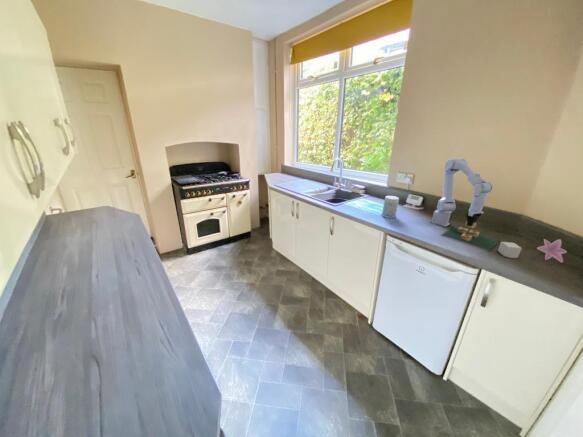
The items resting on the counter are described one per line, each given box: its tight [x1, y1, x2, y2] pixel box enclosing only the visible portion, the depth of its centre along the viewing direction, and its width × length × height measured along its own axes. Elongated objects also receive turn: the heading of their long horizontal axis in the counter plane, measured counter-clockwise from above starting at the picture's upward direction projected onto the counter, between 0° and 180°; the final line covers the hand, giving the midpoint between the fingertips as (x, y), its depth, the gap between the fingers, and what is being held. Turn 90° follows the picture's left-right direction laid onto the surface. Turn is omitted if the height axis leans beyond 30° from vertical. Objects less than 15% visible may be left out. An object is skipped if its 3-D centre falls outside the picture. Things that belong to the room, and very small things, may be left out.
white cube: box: [497, 241, 523, 259], centre depth 124 cm, size 6×6×6 cm
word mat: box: [442, 227, 499, 251], centre depth 143 cm, size 24×20×1 cm
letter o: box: [460, 233, 472, 241], centre depth 140 cm, size 4×4×2 cm
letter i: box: [457, 226, 469, 234], centre depth 150 cm, size 4×4×2 cm
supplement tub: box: [381, 195, 400, 219], centre depth 172 cm, size 10×10×15 cm
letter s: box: [464, 221, 477, 229], centre depth 141 cm, size 4×4×2 cm
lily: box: [536, 238, 568, 264], centre depth 122 cm, size 12×12×10 cm
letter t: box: [468, 229, 480, 237], centre depth 146 cm, size 4×4×2 cm
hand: (470, 224), depth 141 cm, fingers closed on letter s, 4 cm apart
